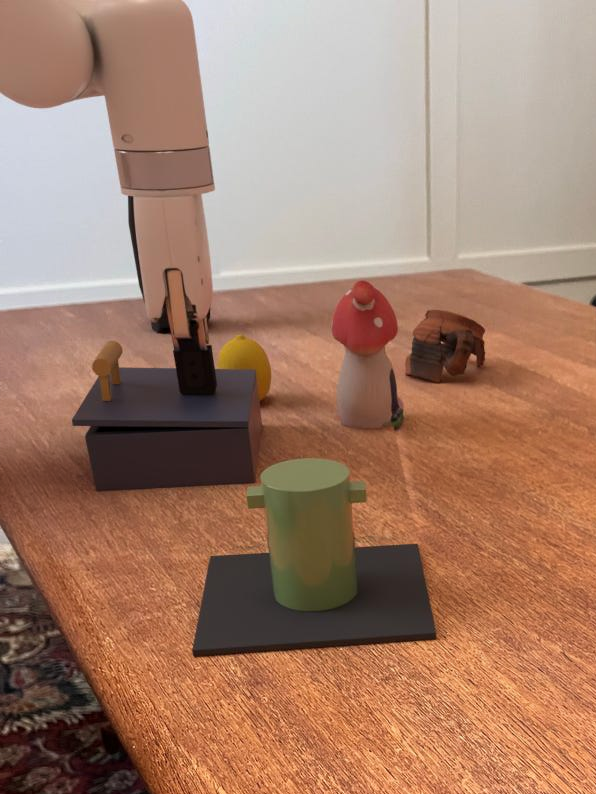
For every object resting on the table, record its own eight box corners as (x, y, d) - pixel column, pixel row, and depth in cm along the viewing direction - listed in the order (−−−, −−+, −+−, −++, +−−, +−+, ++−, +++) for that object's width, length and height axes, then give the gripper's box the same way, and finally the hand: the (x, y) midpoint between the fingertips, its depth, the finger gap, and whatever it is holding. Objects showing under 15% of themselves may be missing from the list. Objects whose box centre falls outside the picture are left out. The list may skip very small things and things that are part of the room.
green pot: (257, 615, 70) (242, 494, 65) (261, 575, 75) (247, 460, 70) (374, 607, 71) (366, 487, 66) (369, 569, 76) (362, 455, 71)
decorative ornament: (386, 442, 101) (379, 286, 93) (324, 437, 102) (312, 282, 94) (413, 413, 108) (408, 266, 101) (355, 408, 110) (346, 263, 102)
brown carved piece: (387, 373, 123) (407, 306, 122) (454, 399, 127) (473, 335, 127) (428, 372, 112) (450, 299, 112) (499, 400, 117) (520, 331, 116)
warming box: (97, 499, 88) (84, 435, 85) (125, 438, 102) (114, 381, 99) (256, 491, 90) (248, 428, 87) (263, 432, 103) (256, 375, 100)
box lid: (72, 426, 85) (64, 374, 83) (104, 373, 98) (98, 326, 96) (248, 427, 87) (245, 377, 85) (256, 375, 100) (253, 330, 98)
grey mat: (193, 656, 66) (192, 650, 66) (210, 561, 78) (210, 555, 78) (436, 639, 68) (436, 632, 68) (417, 548, 80) (417, 543, 80)
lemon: (214, 415, 108) (203, 339, 104) (236, 399, 112) (227, 326, 108) (262, 419, 107) (253, 343, 103) (283, 403, 111) (275, 329, 107)
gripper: (132, 163, 89) (166, 370, 99) (102, 185, 76) (145, 420, 86) (219, 161, 90) (245, 367, 99) (204, 182, 77) (235, 416, 87)
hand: (199, 391), depth 93 cm, fingers closed
